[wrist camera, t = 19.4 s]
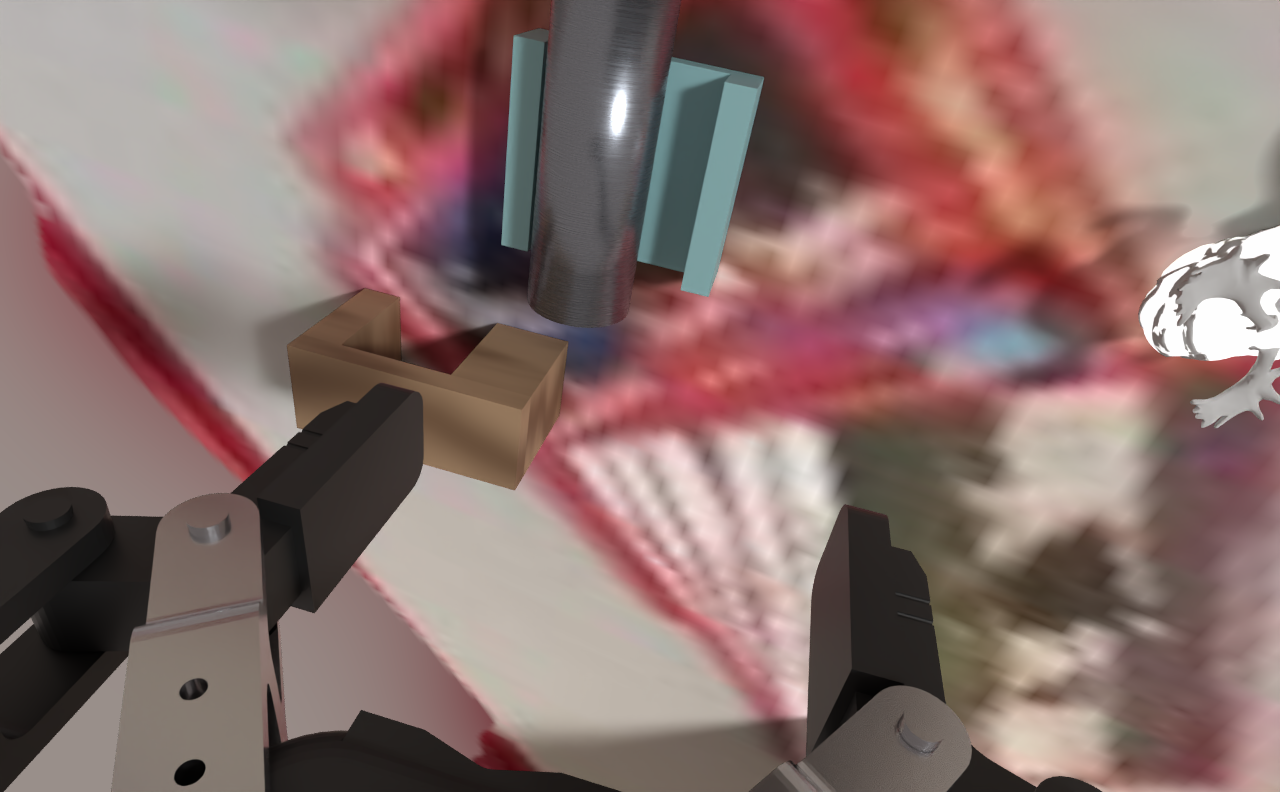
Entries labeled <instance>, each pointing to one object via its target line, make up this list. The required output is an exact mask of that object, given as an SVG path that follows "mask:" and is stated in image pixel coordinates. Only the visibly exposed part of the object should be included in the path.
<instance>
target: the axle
mask: <svg viewBox="0 0 1280 792" xmlns="http://www.w3.org/2000/svg"><path fill="white" fill-rule="evenodd" d="M680 5H681V0H551V11H550V23H549V36H548V48H547V60H546V72H545V85H544V97H543V109H542V122H541V134H540V146H539V158H538V171H537V183H536V195H535V208H534V220H533V232H532V244H531V257H530V269H529V281H528V294H527V300H528V303H529V305H530V306H531V308H532V309H533V310H534V311H535V312H537V313H538V314H540V315H541V316H543V317H545V318H547V319H549V320H551V321H554V322H557V323H560V324H564V325H569V326H575V327H585V328H593V327H604V326H609V325H612V324H615V323H618V322H620V321H621V320H623V319H624V318H625V317H626V316H627V314H628V312H629V306H630V300H631V294H632V289H633V283H634V277H635V271H636V265H637V259H638V253H639V247H640V241H641V235H642V230H643V224H644V218H645V212H646V206H647V200H648V194H649V188H650V182H651V176H652V170H653V165H654V159H655V153H656V147H657V141H658V135H659V129H660V123H661V117H662V111H663V106H664V100H665V94H666V88H667V82H668V76H669V70H670V64H671V58H672V52H673V47H674V41H675V35H676V29H677V23H678V17H679V11H680Z"/></svg>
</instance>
